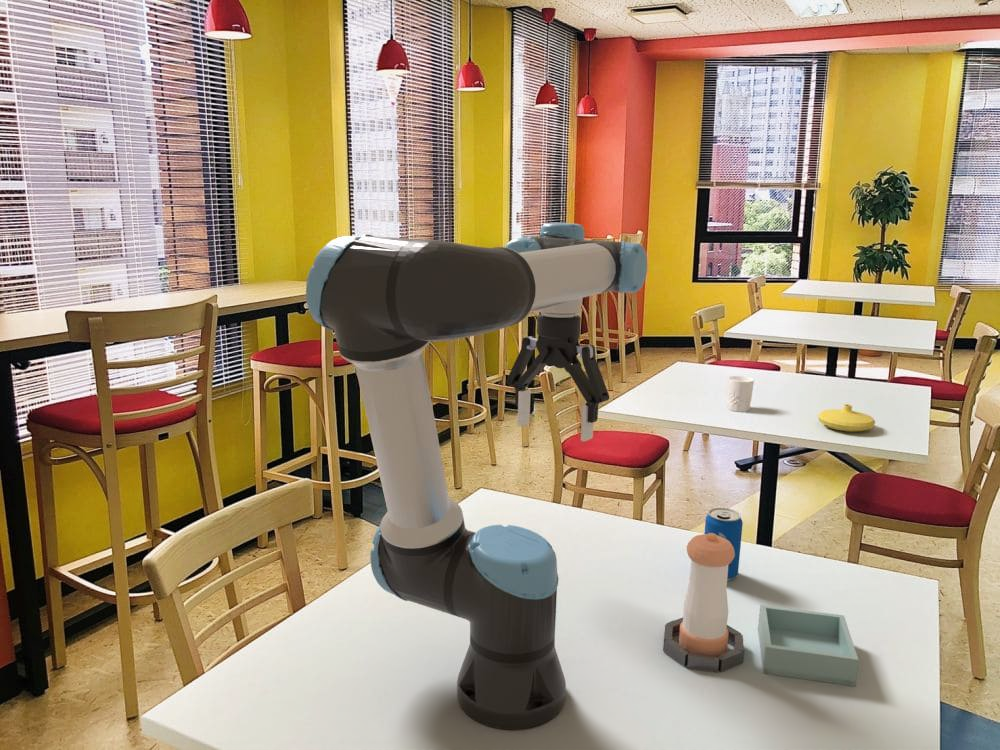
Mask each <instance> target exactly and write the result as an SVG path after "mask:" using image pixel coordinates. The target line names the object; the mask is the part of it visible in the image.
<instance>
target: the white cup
mask: <svg viewBox="0 0 1000 750" xmlns="http://www.w3.org/2000/svg"><path fill="white" fill-rule="evenodd" d="M754 382H755V379H754V378H752V377H749V376H744V375H732V376H728V377H727V397H726V398H727V406H726V407H727V409H728V410H729V411H733V412H736V413H737V412H739V413H744V412H745V413H746V412H749V411H750V409H751V402H752V397H753V390H754V384H755V383H754Z"/></svg>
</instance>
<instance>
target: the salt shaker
mask: <svg viewBox="0 0 1000 750" xmlns="http://www.w3.org/2000/svg"><path fill="white" fill-rule="evenodd" d="M686 553H687V555H688V557H689V559H690V572H689V583H688V586H687V590H686V594H685V598H684V602H683V615H682V618H683V621H682V623H681V624H680V634H679V635H678V644H679V645H681V646H682V647H684V648H685V649H687V650H688V651H690V652H694V653H701V654H708V655H715V656H718V655H720V654H723V653H725V652H728V645H729V643H728V635H729V634H728V629H727V625H728V619H729V618H728V617H729V607H728V606H729V604H728V603H729V602H728V591H727V589H728V588H727V587H728V581H727V576H728V564H730V563H731V562H732V560H733V559H734V557H735V552H734V547H733V546H732V544H731V543H730V542H729V541H728V540H727V539H725V538H722V537H720V536H717V535H716V534H714V533H708V534H698V535H694V536H693V537H692V538H691V539H690V540H689V541H688V543H687V545H686Z"/></svg>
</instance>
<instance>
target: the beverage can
mask: <svg viewBox="0 0 1000 750" xmlns="http://www.w3.org/2000/svg"><path fill="white" fill-rule="evenodd" d="M743 525H744V524H743V520H742V517H741V514H740V512H738V511H737V510H734V509H731V508H726V507H715V508H712V509H710V510H709V511H708V514H707V515H706V517H705V523H704V534H708V533H714V534H716V535H717V536H720V537H722V538H725V539H727V540H728V541H729V542H730V543H731V544H732V546H733V547H734V552H735V557H734V559H733V560H732V562H731V563H730V564H728V576H727V582H728V581H731V580H733V579H735V578H737V576H738V575H739V566H740V557H741V546H742V545H741V544H742V533H743Z"/></svg>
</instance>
